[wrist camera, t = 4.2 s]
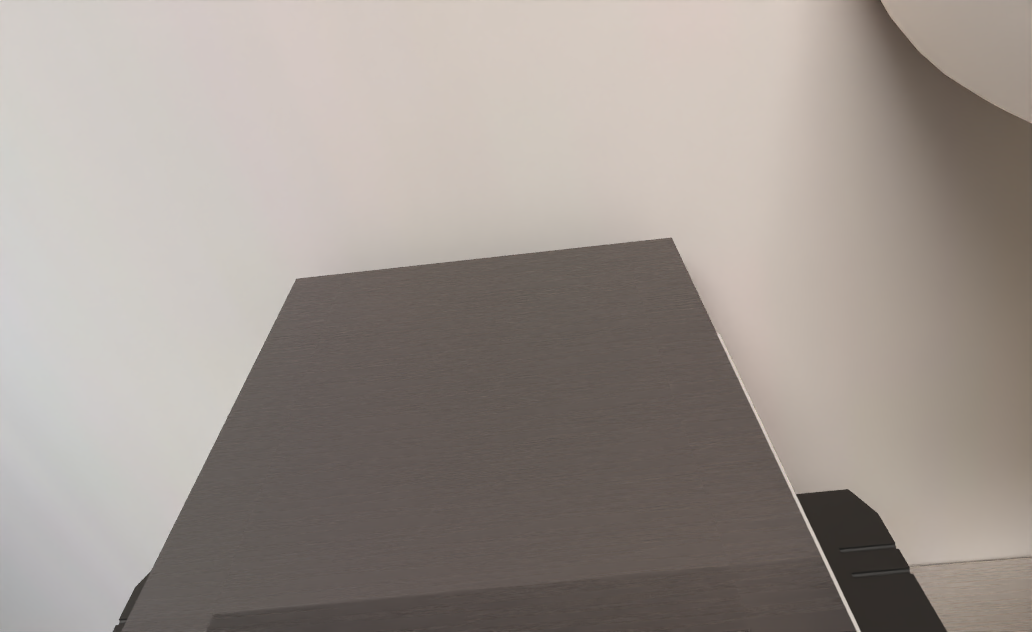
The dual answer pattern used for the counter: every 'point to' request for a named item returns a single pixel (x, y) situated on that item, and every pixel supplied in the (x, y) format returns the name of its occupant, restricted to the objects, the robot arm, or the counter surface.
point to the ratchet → (980, 594)
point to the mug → (975, 45)
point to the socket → (493, 465)
